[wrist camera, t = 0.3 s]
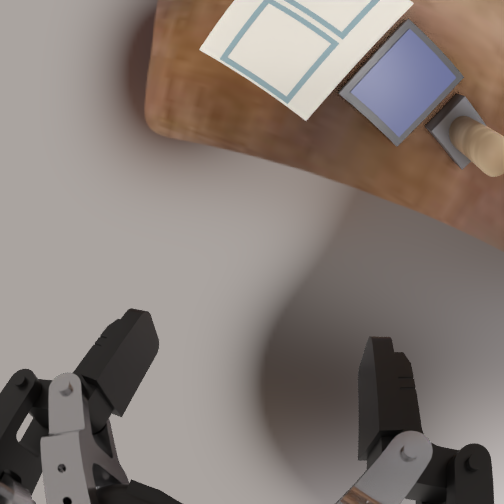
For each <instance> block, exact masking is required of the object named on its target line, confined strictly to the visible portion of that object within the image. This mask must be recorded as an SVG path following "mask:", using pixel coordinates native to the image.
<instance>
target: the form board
mask: <svg viewBox="0 0 504 504" xmlns="http://www.w3.org/2000/svg"><path fill="white" fill-rule="evenodd" d="M413 4H414V3H412V2H411V1H410V0H234V1H233V3H232V4H231V5H230V6H229V8H228V9H227V10H226V12H225V13H224V15H223V16H222V17H221V19H220V20H219V21H218V23H217V24H216V26H215V27H214V28H213V30H212V31H211V33H210V34H209V36H208V37H207V39H206V40H205V42H204V43H203V45H202V46H201V48H200V49H199V50H200V51H202V52H204V53H206V54H207V55H209V56H211V57H212V58H214V59H216V60H218V61H219V62H221V63H222V64H224V65H226V66H227V67H229V68H231V69H232V70H234V71H235V72H237V73H239V74H240V75H242V76H243V77H245V78H246V79H248V80H249V81H251V82H252V83H254V84H255V85H257V86H258V87H260V88H261V89H263V90H264V91H266V92H267V93H269V94H270V95H271V96H273V97H274V98H276V99H277V100H278V101H280V102H281V103H283V104H284V105H285V106H287V107H288V108H289V109H291V110H292V111H294V112H295V113H296V114H297V115H299V116H300V117H301V118H303V119H304V120H305V121H307V119H308V118H309V117H310V116H311V115H312V114H313V112H314V111H315V110H316V109H317V108H318V107H319V106H320V104H321V103H322V102H323V101H324V100H325V99H326V98H327V96H328V95H329V94H330V93H331V92H332V91H333V90H334V88H335V87H336V86H337V85H338V84H339V83H340V82H341V81H342V79H343V78H344V77H345V76H346V75H347V74H348V73H349V72H350V71H351V69H352V68H353V67H354V66H355V65H356V64H357V63H358V62H359V61H360V60H361V58H362V57H363V56H364V55H365V54H366V53H367V52H368V51H369V50H370V49H371V48H372V47H373V45H374V44H375V43H376V42H377V41H378V40H379V39H380V38H381V37H382V36H383V35H384V34H385V33H386V32H387V31H388V30H389V29H390V27H391V26H392V25H393V24H394V23H395V22H396V21H397V20H398V19H399V18H400V17H401V16H402V15H403V14H404V13H405V12H406V11H407V10H408V9H409V8H410V7H411V6H412V5H413Z"/></svg>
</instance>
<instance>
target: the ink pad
mask: <svg viewBox="0 0 504 504" xmlns="http://www.w3.org/2000/svg"><path fill="white" fill-rule="evenodd" d="M463 78H464V77H463V75H462V74H461V73H460V72H459V71H458V69H457V68H456V67H455V66H454V65H453V64H452V62H451V61H450V60H449V59H448V58H447V57H446V56H445V55H444V53H443V52H442V51H441V50H440V49H439V48H438V47H437V46H436V45H435V44H434V43H433V42H432V41H431V40H430V39H429V38H428V37H427V36H426V35H425V34H424V33H423V32H422V31H421V30H420V29H419V28H418V27H417V26H416V25H415V24H414V23H412V22H411V21H410V20H409V19H407V20H405V21H404V22H403V23H402V24H401V25H400V26H399V27H398V28H397V29H396V30H395V31H394V32H393V33H392V34H391V35H390V36H389V37H388V38H387V40H386V41H385V42H384V43H383V44H382V45H381V46H380V47H379V48H378V49H377V50H376V51H375V52H374V53H373V54H372V56H371V57H370V58H369V59H368V60H367V61H366V62H365V63H364V64H363V65H362V66H361V67H360V69H359V70H358V71H357V72H356V73H355V74H354V75H353V76H352V77H351V78H350V80H349V81H348V82H347V83H346V84H345V85H344V86H343V87H342V88H341V90H340V91H339V92H338V93H339V94H340V95H341V96H342V97H343V98H345V99H346V100H347V101H348V102H349V103H350V104H352V105H353V106H354V107H355V108H356V109H357V110H359V111H360V112H361V113H362V114H363V115H364V116H365V117H366V118H367V119H369V120H370V121H371V122H372V123H373V124H374V125H375V126H376V127H377V128H378V129H379V130H380V131H381V132H382V133H383V134H385V135H386V136H387V137H388V138H389V139H390V140H391V141H392V142H393V143H394V144H395V145H396V146H398V145H399V144H400V143H401V142H402V141H403V140H404V139H405V138H406V137H407V136H408V135H409V134H410V133H411V132H412V131H413V130H414V129H415V128H416V127H417V126H418V125H419V124H420V123H421V122H422V121H423V120H424V119H425V118H426V117H427V116H428V115H429V114H430V113H431V111H432V110H433V109H434V108H435V107H436V106H437V105H438V104H439V103H440V102H441V101H442V100H443V99H444V98H445V97H446V96H447V95H448V94H449V93H450V92H451V91H452V89H453V88H454V87H455V86H456V85H457V84H458V83H459V82H460V81H461V80H462V79H463Z"/></svg>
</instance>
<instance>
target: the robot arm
mask: <svg viewBox="0 0 504 504" xmlns="http://www.w3.org/2000/svg"><path fill="white" fill-rule="evenodd" d="M158 349H159V339H158V336H157V333H156V330H155V327H154V324H153V321H152V318H151V315H150V313H149V312H147V311H142V310H137V309H129V310H128V311H127V312H126V313H125V314H124V316H123V317H122V318H121V319H117V320H116V321H115V322H113V323H112V324H110V325H109V326H108V327H107V328H106V329H105V330H104V332H103V333H102V334H101V337H100V338H98V340H97V341H96V342H95V345H93V346H92V348H91V349H90V350H89V352H88V353H87V354H86V356H85V357H84V358H83V360H82V361H81V363H80V364H79V365H78V367H77V368H76V370H75V371H74V372H73V373H63V374H60V375H59V376H57V377H56V378H54V380H42V379H38V378H37V377H36V376H35V374H34V373H33V372H32V371H31V370H29V369H22V370H19V371H17V372H16V373H15V374H14V375H13V376H12V377H11V379H10V380H9V382H8V383H7V384H6V386H5V387H4V389H3V390H2V392H1V393H0V504H36V503H35V501H34V500H32V497H31V495H32V493H33V491H34V489H35V486H36V484H37V482H38V480H39V478H40V475H41V473H42V472H43V481H44V488H45V495H46V502H47V504H182V503H180V502H179V501H177V500H175V499H173V498H172V497H170V496H168V495H167V494H165V493H164V492H162V491H160V490H158V489H155V488H152V487H149V486H147V485H144V484H142V483H138V482H136V481H134V480H131V482H130V483H129V481H128V478H127V476H126V474H125V472H124V470H123V468H122V467H121V465H120V463H119V460H118V456H117V452H116V448H115V443H114V438H113V434H112V429H111V424H110V420H109V417H110V415H111V413H112V414H115V415H117V416H120V417H122V416H123V414H124V412H125V410H126V408H127V406H128V405H129V403H130V401H131V399H132V397H133V396H134V394H135V392H136V390H137V388H138V386H139V385H140V383H141V381H142V379H143V378H144V376H145V374H146V372H147V370H148V369H149V367H150V365H151V363H152V361H153V360H154V358H155V356H156V354H157V352H158ZM358 400H359V402H358V403H359V441H358V442H359V443H358V460H367V470H366V471H365V473H364V474H363V475H362V476H361V477H360V478H359V479H358V480H357V482H356V483H355V484H354V485H353V486H352V487H351V488H350V489H349V490H348V491H347V492H346V493H345V494H344V495H343V496H342V497H341V498H340V499H339V500H338V501H337V502H336V503H335V504H400V503H401V502H402V501H403V499H404V498H406V499H411V500H416V504H494V495H493V494H494V493H493V476H492V464H491V457H490V454H489V452H488V451H487V449H486V448H485V447H483V446H482V445H479V444H469V445H466V446H465V447H463V448H462V449H461V450H454V449H449V448H444V447H440V446H436V445H434V444H433V443H431V442H430V440H429V439H428V438H427V437H426V436H425V435H424V434H423V431H422V427H421V420H420V414H419V406H418V400H417V394H416V390H415V383H414V379H413V372H412V367H411V363H410V362H409V360H408V359H407V357H406V356H405V354H404V353H403V352H394V349H393V344H392V339H391V338H390V337H369V338H368V341H367V344H366V348H365V350H364V354H363V357H362V360H361V363H360V366H359V372H358ZM28 413H29V414H30V415H31V416H33V420H32V422H31V423H30V425H29V427H28V429H27V430H26V432H25V434H24V436H23V438H22V439H21V441H20V442H18V441H17V439H16V434H17V431H18V429H19V428H20V426H21V424H22V423H23V421H24V419H25V417H26V416H27V414H28Z"/></svg>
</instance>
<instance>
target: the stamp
mask: <svg viewBox="0 0 504 504" xmlns="http://www.w3.org/2000/svg"><path fill="white" fill-rule="evenodd" d="M425 127H426V128H427V129H428V131H429V132H430V133H431V134H432V135H433V136H434V138H435V139H436V140H437V141H438V142H439V143H440V145H441V146H442V147H443V148H444V150H445V151H446V152H447V153H448V155H449V156H450V157H451V158H452V160H453V161H454V162H455V163H456V164H457V165H458V166H459V167H460V168H461V169H463V168H464V167H465V166H467V165H468V164H469V163H470V162H471V161H472V162H473V163H474V164H475V165H476V166H477V167H479V168H480V169H481V170H482V171H483V172H484V173H485V174H487V175H488V176H492V177H496V176H500V175H502V174H503V173H504V136H502V135H500V134H499V133H497V132H495V131H494V130H492V129H490V128H488V127H487V126H486V124H485V123H484V122H483V120H482V119H481V117H480V116H479V115H478V113H477V112H476V110H475V109H474V108H473V106H472V105H471V104H470V102H469V101H468V100H467V98H466V97H465V96H462V95H460V94H457V93H456V94H455V95H454V96H453V97H452V98H451V100H450V101H449V102H448V103H447V104H446V105H445V106H444V107H443V108H442V109H441V110H440V111H439V112H438V113H437V114H436V115H435V116H434V117H433V118H432V119H431V120H430V121H429V122H428V123H427V124H426V125H425Z"/></svg>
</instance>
